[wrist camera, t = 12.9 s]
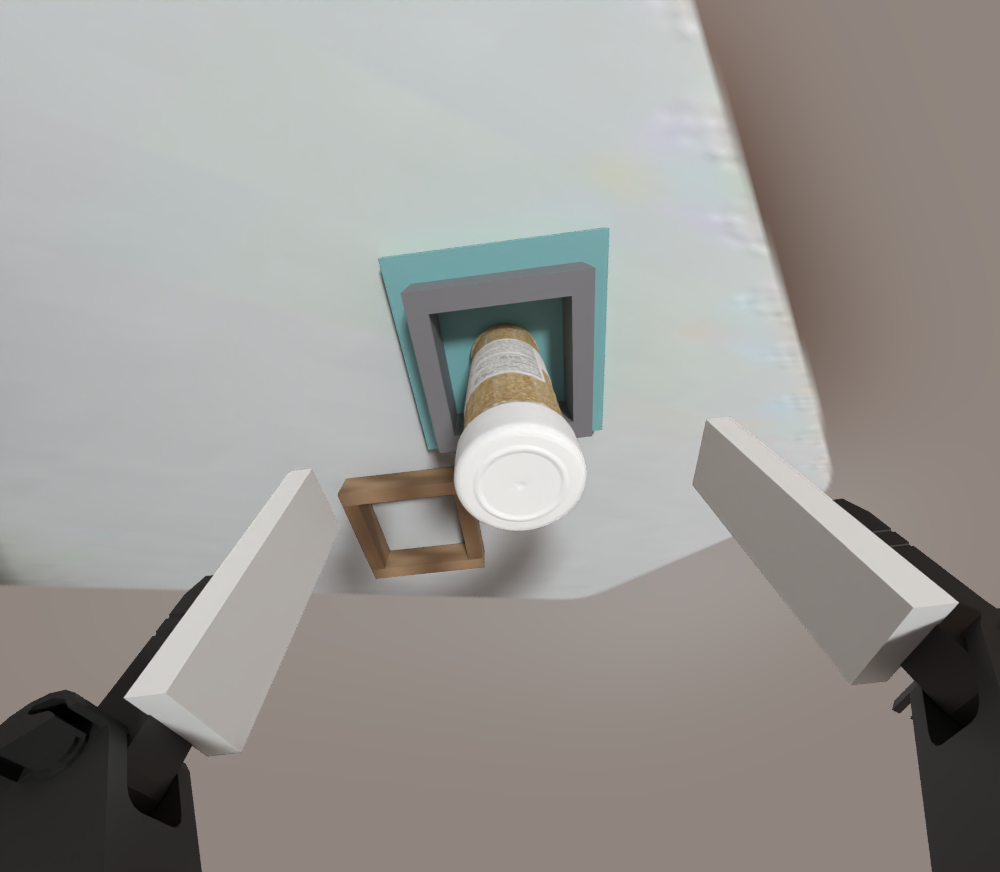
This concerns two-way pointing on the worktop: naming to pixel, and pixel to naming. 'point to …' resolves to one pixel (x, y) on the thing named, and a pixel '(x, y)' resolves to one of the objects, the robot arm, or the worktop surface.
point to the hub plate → (502, 320)
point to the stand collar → (402, 487)
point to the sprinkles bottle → (515, 437)
